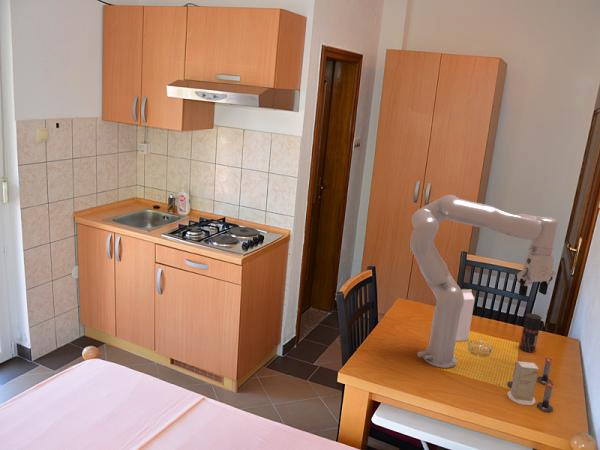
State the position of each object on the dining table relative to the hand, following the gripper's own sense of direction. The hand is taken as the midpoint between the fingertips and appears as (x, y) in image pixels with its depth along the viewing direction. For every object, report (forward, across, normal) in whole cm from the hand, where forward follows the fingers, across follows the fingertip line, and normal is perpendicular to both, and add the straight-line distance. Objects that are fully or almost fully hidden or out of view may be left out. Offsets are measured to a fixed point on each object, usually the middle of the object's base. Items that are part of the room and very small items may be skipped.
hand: (532, 294), depth 196 cm
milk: (+31, -7, +28) cm, 42 cm away
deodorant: (+31, +16, +12) cm, 36 cm away
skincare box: (+30, -15, -18) cm, 38 cm away
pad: (+30, -16, -18) cm, 39 cm away
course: (+30, -5, -18) cm, 36 cm away
